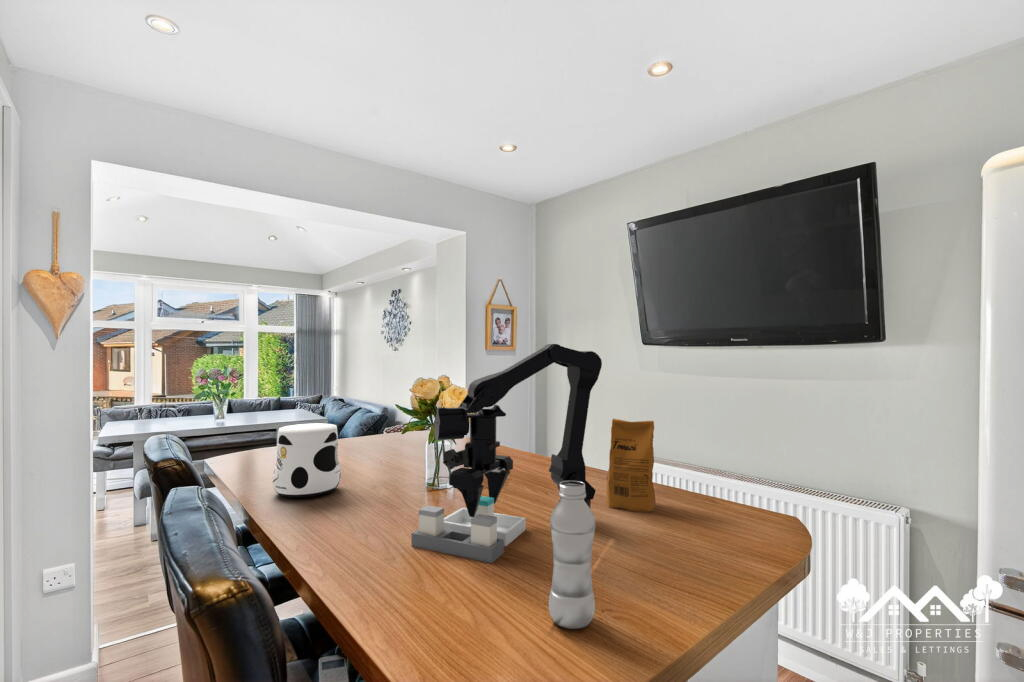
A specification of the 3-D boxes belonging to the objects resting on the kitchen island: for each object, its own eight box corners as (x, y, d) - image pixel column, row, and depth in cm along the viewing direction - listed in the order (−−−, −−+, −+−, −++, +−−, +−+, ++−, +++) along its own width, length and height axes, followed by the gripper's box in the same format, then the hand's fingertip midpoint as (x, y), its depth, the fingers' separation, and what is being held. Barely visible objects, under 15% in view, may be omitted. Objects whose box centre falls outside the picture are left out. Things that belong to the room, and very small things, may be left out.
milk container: (259, 494, 131) (260, 428, 131) (317, 480, 145) (318, 421, 146) (295, 506, 121) (296, 434, 122) (353, 490, 135) (354, 426, 136)
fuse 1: (443, 542, 97) (444, 508, 97) (435, 548, 95) (435, 512, 95) (427, 539, 99) (427, 505, 99) (418, 544, 96) (418, 509, 96)
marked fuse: (493, 530, 104) (494, 497, 104) (487, 535, 102) (487, 501, 102) (477, 527, 106) (477, 495, 106) (471, 532, 103) (471, 499, 103)
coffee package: (610, 497, 131) (610, 415, 131) (657, 503, 126) (657, 418, 126) (602, 507, 121) (602, 420, 122) (653, 514, 116) (652, 423, 117)
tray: (525, 531, 105) (525, 517, 105) (505, 548, 96) (505, 533, 96) (462, 520, 112) (462, 507, 112) (438, 535, 103) (438, 521, 103)
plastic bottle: (547, 610, 73) (547, 477, 74) (592, 611, 73) (592, 478, 73) (549, 635, 67) (549, 489, 67) (598, 636, 66) (598, 490, 67)
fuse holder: (503, 555, 93) (503, 539, 93) (491, 565, 88) (491, 549, 88) (426, 539, 100) (426, 524, 100) (411, 548, 96) (411, 533, 96)
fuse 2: (496, 553, 92) (496, 516, 92) (489, 559, 89) (489, 521, 90) (478, 550, 94) (478, 513, 94) (470, 555, 91) (471, 518, 91)
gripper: (472, 428, 116) (471, 493, 116) (427, 441, 99) (426, 518, 99) (514, 432, 111) (513, 500, 111) (474, 446, 94) (473, 526, 94)
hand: (482, 510), depth 104 cm, fingers open, 9 cm apart
